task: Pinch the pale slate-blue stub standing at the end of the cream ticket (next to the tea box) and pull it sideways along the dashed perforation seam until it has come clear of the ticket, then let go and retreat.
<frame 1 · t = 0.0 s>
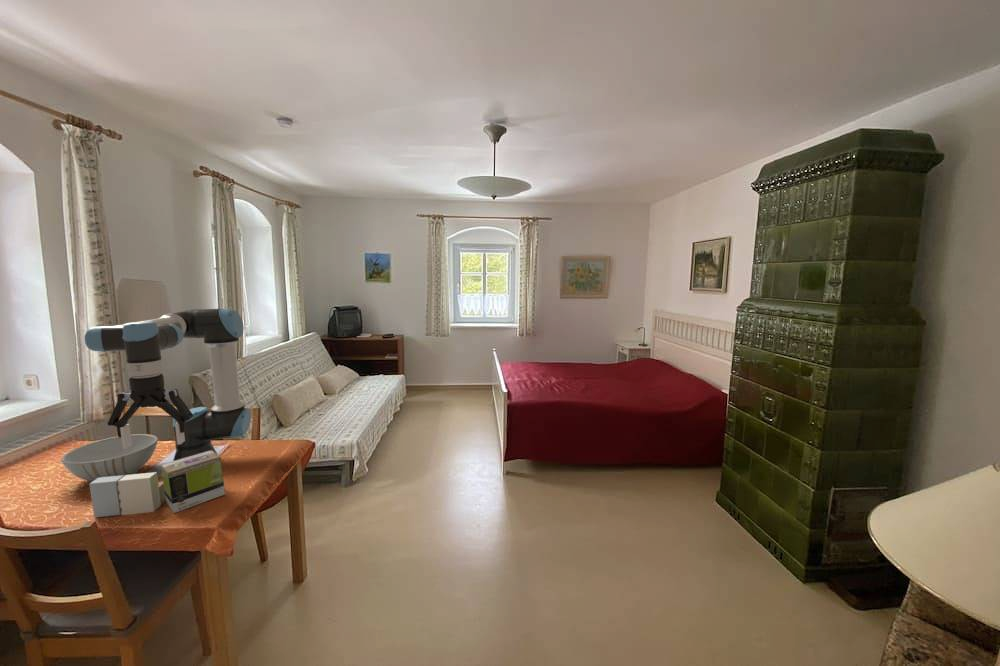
hand: (154, 445, 118), 28 cm above the table, fingers open, 13 cm apart
tea box: (196, 500, 140), on the table
stub: (109, 496, 131), point 6 cm above the table, slide at 0.0 cm
decorative bowl: (116, 477, 156), on the table
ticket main: (141, 510, 134), on the table
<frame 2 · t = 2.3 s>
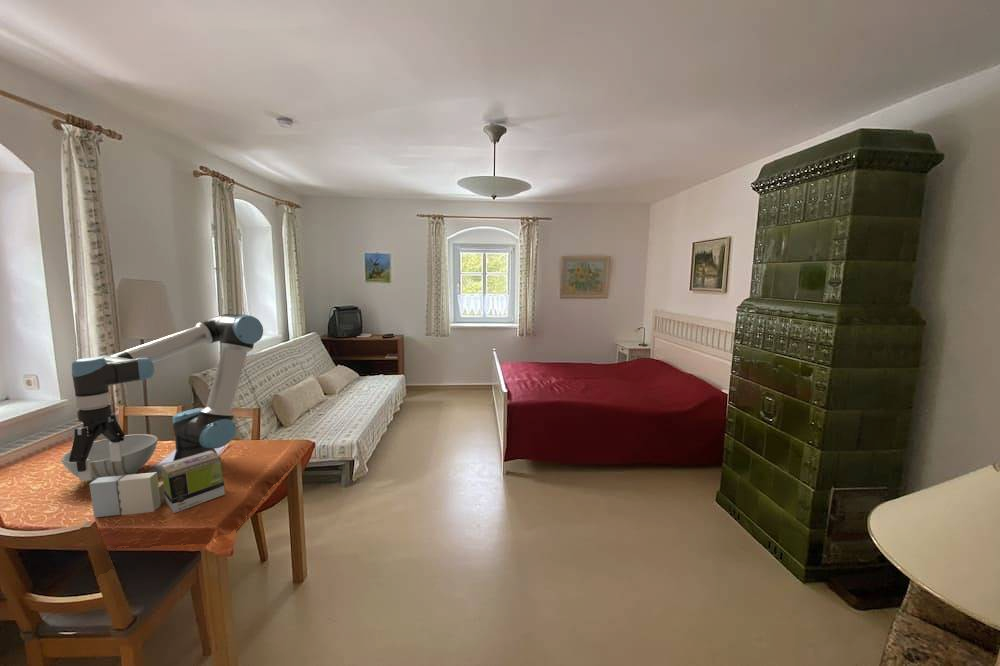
hand: (101, 470, 129), 15 cm above the table, fingers open, 13 cm apart
nothing on the table moved.
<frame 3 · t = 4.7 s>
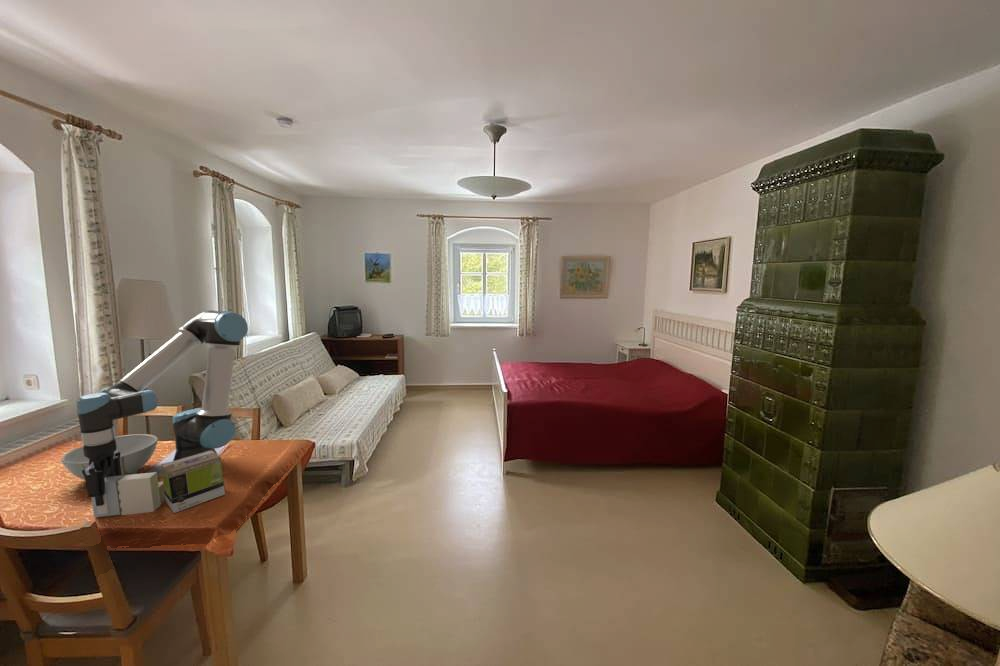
hand: (108, 509, 131), 2 cm above the table, fingers closed on stub, 4 cm apart
stub: (109, 496, 131), point 6 cm above the table, slide at 0.0 cm, touching gripper
everything else where it was.
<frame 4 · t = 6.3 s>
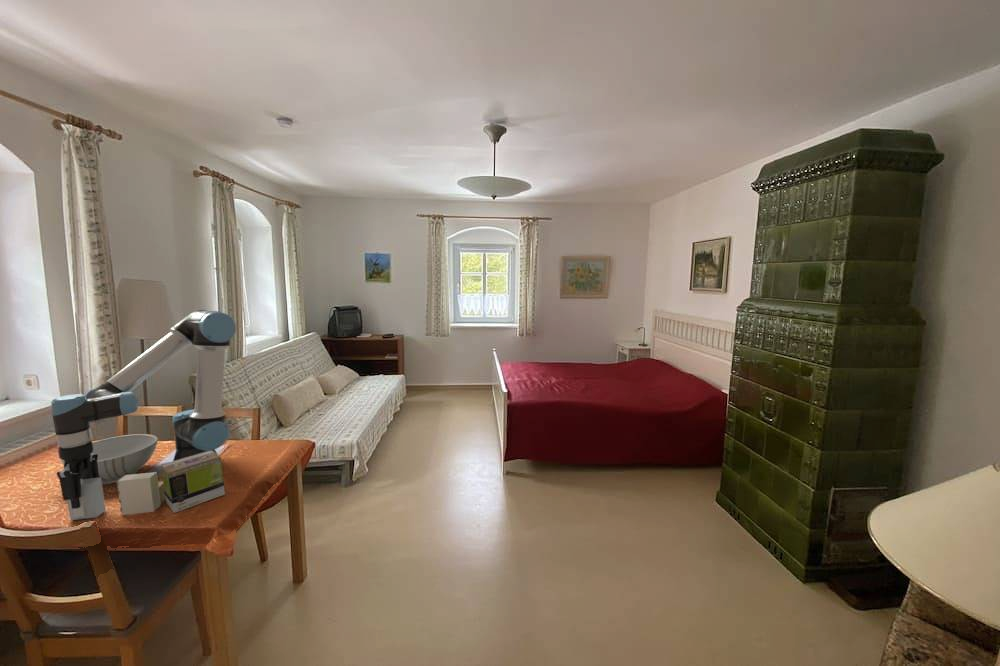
hand: (85, 511, 130), 2 cm above the table, fingers closed on stub, 4 cm apart
stub: (85, 498, 129), point 6 cm above the table, slide at 6.3 cm, touching gripper
everything else where it was.
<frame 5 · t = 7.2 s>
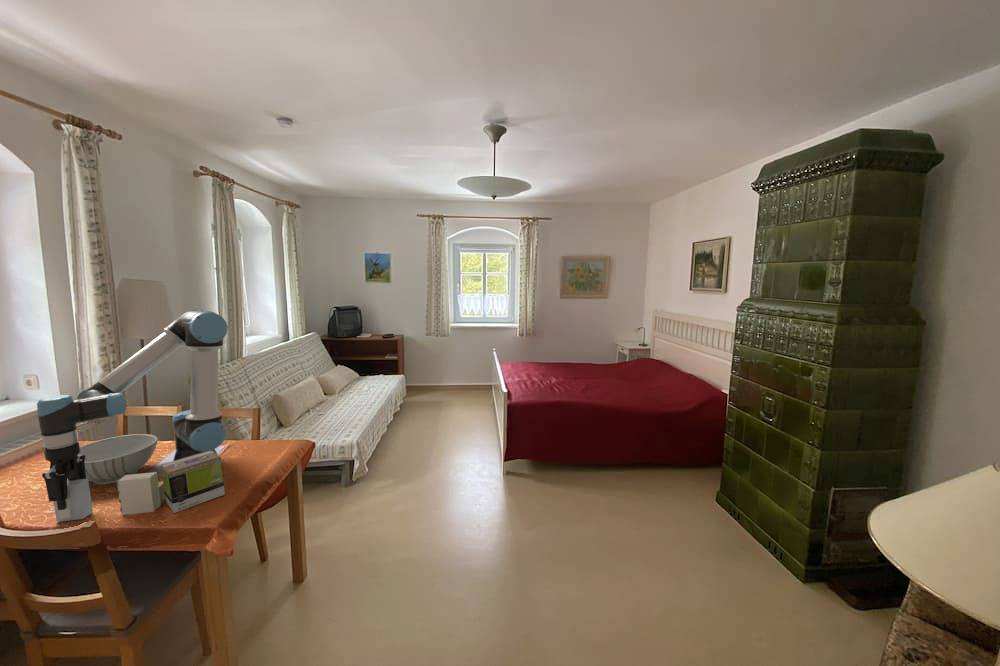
hand: (72, 513, 129), 2 cm above the table, fingers closed on stub, 4 cm apart
stub: (72, 499, 128), point 6 cm above the table, slide at 9.9 cm, touching gripper
everything else where it was.
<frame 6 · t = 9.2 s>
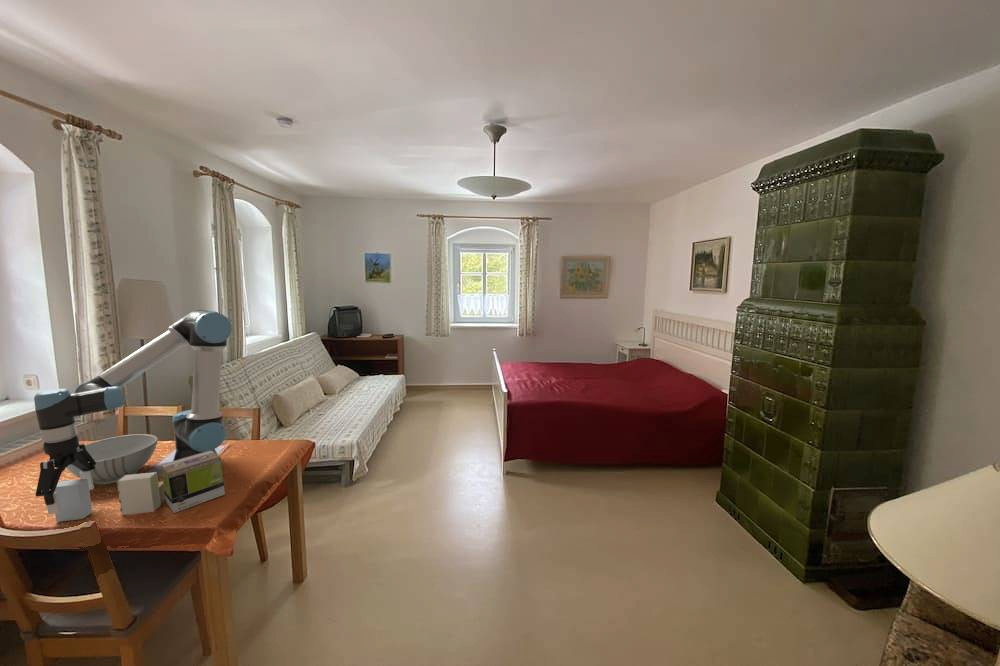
hand: (72, 500, 129), 6 cm above the table, fingers open, 13 cm apart
stub: (72, 499, 128), point 6 cm above the table, slide at 10.0 cm
everything else where it was.
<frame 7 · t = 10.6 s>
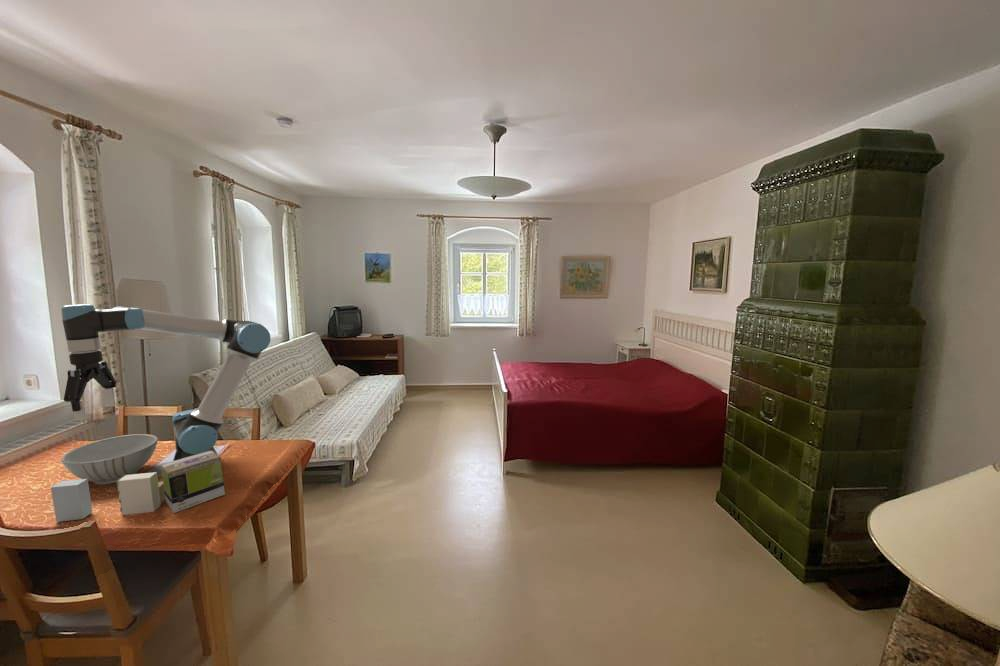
hand: (95, 413, 135), 32 cm above the table, fingers open, 13 cm apart
nothing on the table moved.
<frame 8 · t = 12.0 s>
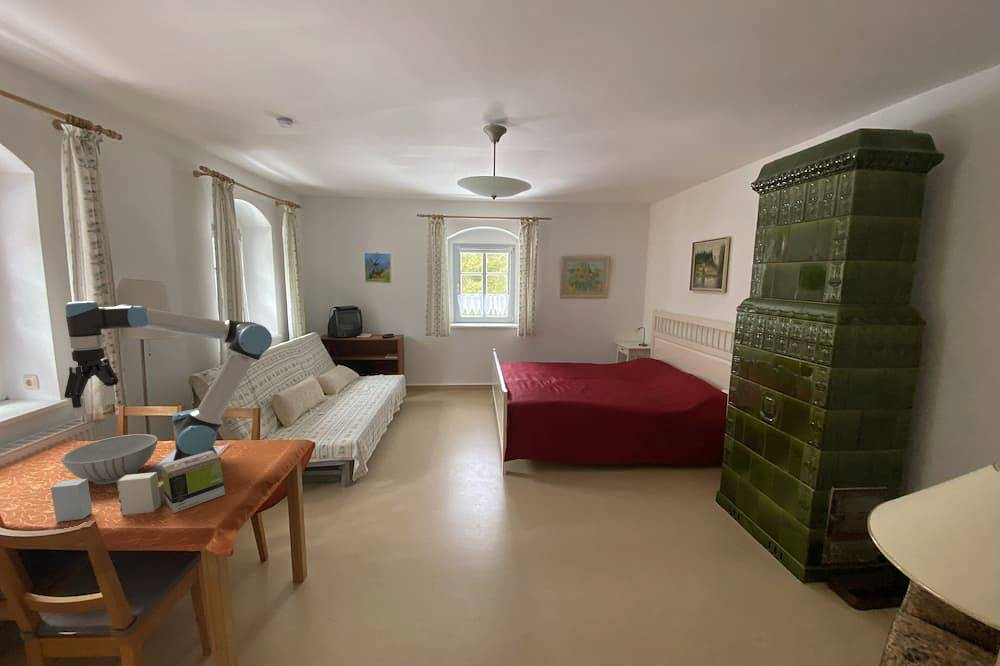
hand: (96, 409, 135), 33 cm above the table, fingers open, 13 cm apart
nothing on the table moved.
at the end: stub slide at 10.0 cm; the gripper is holding nothing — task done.
